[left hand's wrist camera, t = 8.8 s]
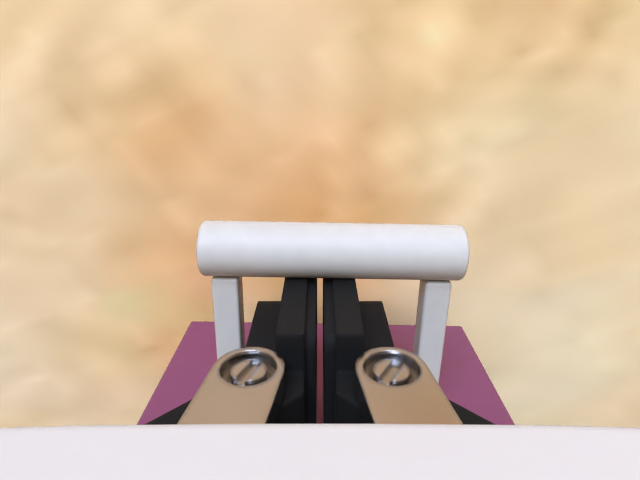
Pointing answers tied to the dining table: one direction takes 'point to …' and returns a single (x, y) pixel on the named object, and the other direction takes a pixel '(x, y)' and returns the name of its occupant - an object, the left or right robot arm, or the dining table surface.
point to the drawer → (333, 262)
